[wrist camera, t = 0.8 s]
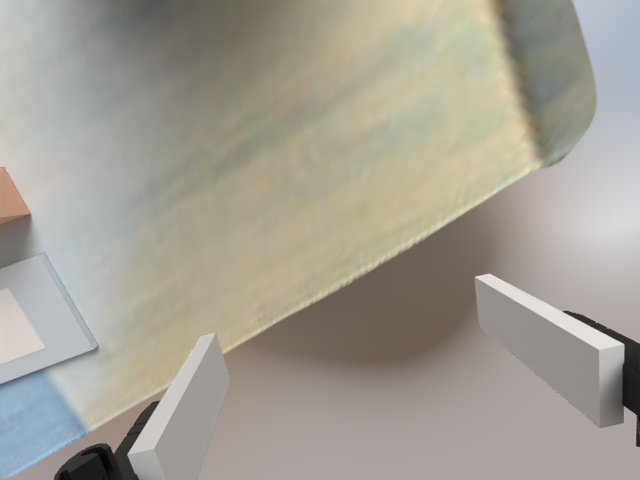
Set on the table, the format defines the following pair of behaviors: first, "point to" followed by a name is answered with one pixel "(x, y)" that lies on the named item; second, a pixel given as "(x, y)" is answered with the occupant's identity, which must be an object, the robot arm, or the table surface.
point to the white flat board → (37, 319)
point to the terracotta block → (10, 199)
